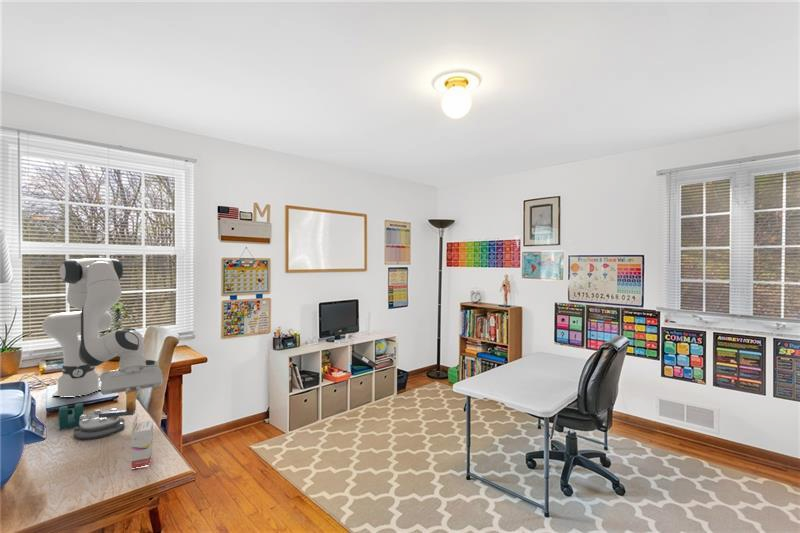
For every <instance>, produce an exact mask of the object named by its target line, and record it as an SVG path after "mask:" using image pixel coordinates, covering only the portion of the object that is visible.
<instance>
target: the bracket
mask: <svg viewBox="0 0 800 533" xmlns="http://www.w3.org/2000/svg"><path fill="white" fill-rule="evenodd" d="M68 407H69V406H68V405H64V406H63V405H62V406H59V408H58V409H59V410H58V425H59V430H60V431H63V430H68V429H72V428H76V427H78V426H79V420H80V416H81V415H84V404H83V402H79V403H74V407H70V408H68Z"/></svg>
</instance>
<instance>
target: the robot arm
mask: <svg viewBox="0 0 800 533" xmlns="http://www.w3.org/2000/svg"><path fill="white" fill-rule="evenodd" d="M59 276H60V278H61V280H62V281H63V282H65V283H66V284H68V287H67V288H68V289H67V295H66V301H67V303H68V305H69V306H71V307H73V308H74V309H78V310H79V311H66V312H64V311H63V312H59V313H58V312H57V313H53V314H49V315H47V316H46V317H45V318H44V320H43V321H42V324H41V327H42V331H43V332H44V334H46V335H47V336H48V337H50V338H52V339H53V340H56V342H58V343H59V345H60V346H61V349H62V357H63V365H62V366H61V367H62V368H61V372H62V374H61V376H59V378H57V390H56V391H54V393H53V394H52V396H63V397H64V396H79V395H85V394H89V393H92V392H95V391H97V390H100V389H101V391H100V394H102V395H104V396H105V395H111V394H117V393H118V394H119V393H123V392H124V393H125V394H126V392H127V391H131V390H135V391H136V400H138V396H139V395H140V392H141V390H143V389H149V388H156V387H161V386H162V385H163V382H164V378H163V372H162V369H161V368H160V367H159V361H158V360H154V359H147V358H145V354H146V353H145V352H146V348H145V347H146V346H145V340H144V337H143V335H142V334H141V333H140V332H139V331H137V330H128V329H124V328H118V329H116V330H114V331H113V330H112V331H111V332H108V333H106V334H105V335H102V336H99V332H104V331H107V330H109V329H110V328H111V327H112V325H113V321H114V319H113V316H112V314H111V313H110V312H109V310H110V309H112V308H113V307H114V306H115V305H116V304H117V303H118V302H119V301H120V300H121V298H122V286H121V283H120V282H121V281H120V280H121V278H122V277H123V276H124V266H123V263H122V262H121V261H120V260H119V259H116V258H97V257H95V258H93V257H92V258H80V259H79V258H78V259H75V258H70V259H65V260H64V261H63V262H62V263H61V265H60V268H59ZM79 336H80V339H79ZM116 357H120V359H119V361H118V369H115V370H106V371H103V373H101V374H100V375H99V373H98V371H96V370H95V369H96V367H99V366H100V365H102V364H104V363H105V362H108V361H110V360H112V359H114V358H116ZM100 382H101V383H100ZM97 392H98V391H97ZM95 393H96V392H95ZM92 394H93V393H92ZM89 395H90V394H89ZM52 396H51V397H52ZM85 396H86V395H85Z"/></svg>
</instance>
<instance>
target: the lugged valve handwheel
mask: <svg viewBox="0 0 800 533" xmlns="http://www.w3.org/2000/svg"><path fill="white" fill-rule="evenodd" d="M125 395H126V398H125V399H126V401H125V409H122V410H119V409H118V408H115V407H113V408H110V409H109V410H101V409H94V412H92V413H89V414H83V415H81V416H80V420H79V430H80V431H83V432H94V431H100V430H104V429H108V428H111V427H113V426H115V425H117V424H118V423H119V422H120V418H121V417H123V416H124V417H126V416H127V417H128V416H134V415H135V414H136V411H137V410H136V409H137V399H136V390H131V391H127V392H126V393H125Z"/></svg>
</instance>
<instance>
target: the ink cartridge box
mask: <svg viewBox="0 0 800 533" xmlns="http://www.w3.org/2000/svg"><path fill="white" fill-rule="evenodd" d="M138 414H139V413H136V415H135V417H134V419H133V421H132V426H131V427H132V429H131V468H136V467H141V466H145V465H149V463H150V464H151V461H152V458H151V456H152V457H153V438H154V437H153V434H154V420H152V419H151V420H144V421H138V416H139V415H138ZM150 460H151V461H150ZM149 466H150V465H149Z"/></svg>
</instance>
